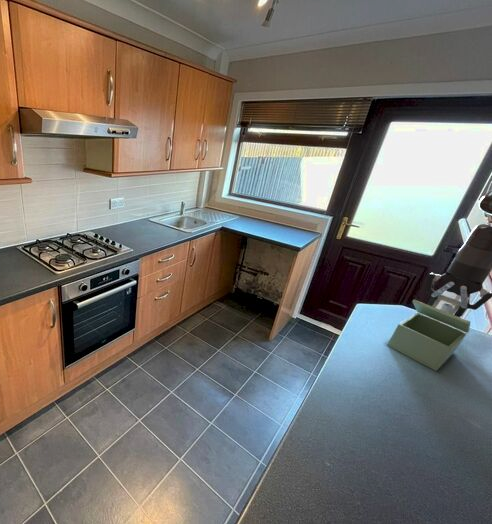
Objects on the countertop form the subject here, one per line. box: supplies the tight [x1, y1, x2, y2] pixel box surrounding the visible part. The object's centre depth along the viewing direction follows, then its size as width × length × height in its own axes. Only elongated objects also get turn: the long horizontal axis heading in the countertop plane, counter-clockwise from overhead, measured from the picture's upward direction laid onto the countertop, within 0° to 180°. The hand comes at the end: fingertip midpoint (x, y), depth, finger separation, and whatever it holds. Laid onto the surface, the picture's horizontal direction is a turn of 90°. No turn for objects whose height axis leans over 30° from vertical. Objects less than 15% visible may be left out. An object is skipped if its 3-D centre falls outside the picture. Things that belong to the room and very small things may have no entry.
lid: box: [412, 293, 472, 334], centre depth 87 cm, size 16×13×6 cm
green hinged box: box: [386, 311, 468, 372], centre depth 91 cm, size 16×13×9 cm
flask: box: [430, 302, 455, 324], centre depth 103 cm, size 7×7×10 cm
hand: (442, 311), depth 86 cm, fingers closed on lid, 5 cm apart
